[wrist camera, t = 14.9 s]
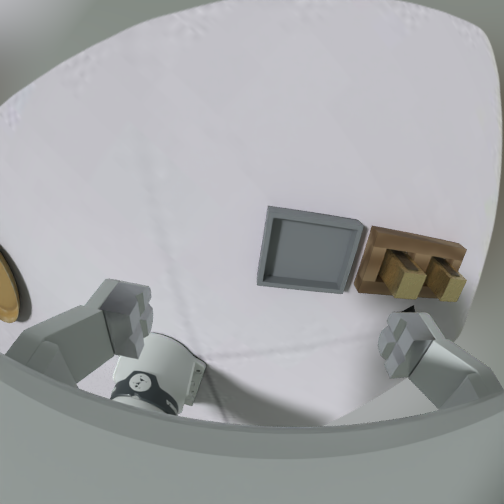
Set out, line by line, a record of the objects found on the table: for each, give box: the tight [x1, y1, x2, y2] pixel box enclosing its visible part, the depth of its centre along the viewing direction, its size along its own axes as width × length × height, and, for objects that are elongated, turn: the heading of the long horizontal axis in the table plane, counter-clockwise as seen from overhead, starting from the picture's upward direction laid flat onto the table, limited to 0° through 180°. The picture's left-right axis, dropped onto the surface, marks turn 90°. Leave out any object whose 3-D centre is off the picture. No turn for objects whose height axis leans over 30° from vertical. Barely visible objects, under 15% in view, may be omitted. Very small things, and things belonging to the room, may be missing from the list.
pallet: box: [354, 226, 467, 298], centre depth 39 cm, size 10×19×2 cm, turn 83°
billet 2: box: [424, 256, 467, 302], centre depth 37 cm, size 4×4×8 cm
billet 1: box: [378, 249, 427, 299], centre depth 37 cm, size 4×4×8 cm
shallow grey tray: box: [257, 206, 364, 294], centre depth 39 cm, size 11×13×2 cm
